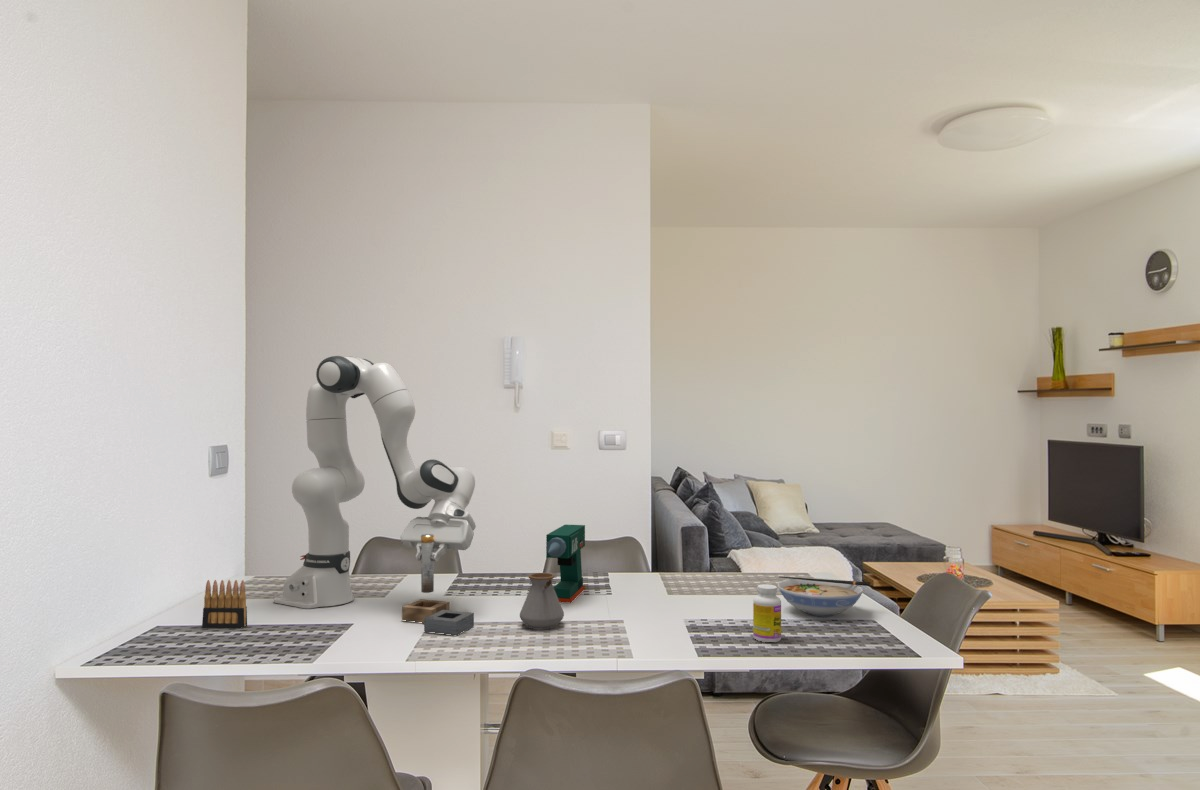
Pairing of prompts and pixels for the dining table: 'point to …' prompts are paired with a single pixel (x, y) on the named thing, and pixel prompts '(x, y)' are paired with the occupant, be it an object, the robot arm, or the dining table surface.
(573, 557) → the power tool
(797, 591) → the ramen bowl
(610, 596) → the dining table surface
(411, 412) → the robot arm
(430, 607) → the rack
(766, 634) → the supplement bottle
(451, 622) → the socket block
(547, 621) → the coffee pot
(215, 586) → the ammunition clip
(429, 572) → the grey capped tube
